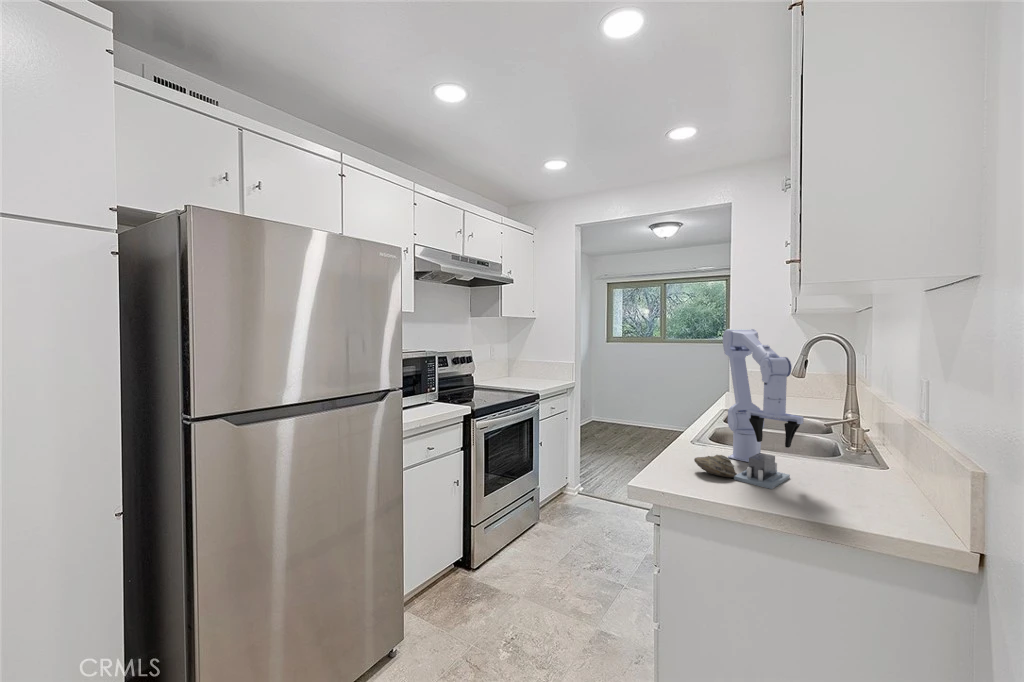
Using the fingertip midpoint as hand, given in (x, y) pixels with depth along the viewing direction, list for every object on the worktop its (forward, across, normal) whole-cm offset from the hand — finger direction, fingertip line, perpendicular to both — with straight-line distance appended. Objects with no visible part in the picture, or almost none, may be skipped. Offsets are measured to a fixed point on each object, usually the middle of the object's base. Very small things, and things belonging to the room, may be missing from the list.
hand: (773, 444), depth 130 cm
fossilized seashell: (+10, -12, -11) cm, 19 cm away
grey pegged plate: (+10, -1, -4) cm, 11 cm away
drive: (+9, -1, -4) cm, 10 cm away
